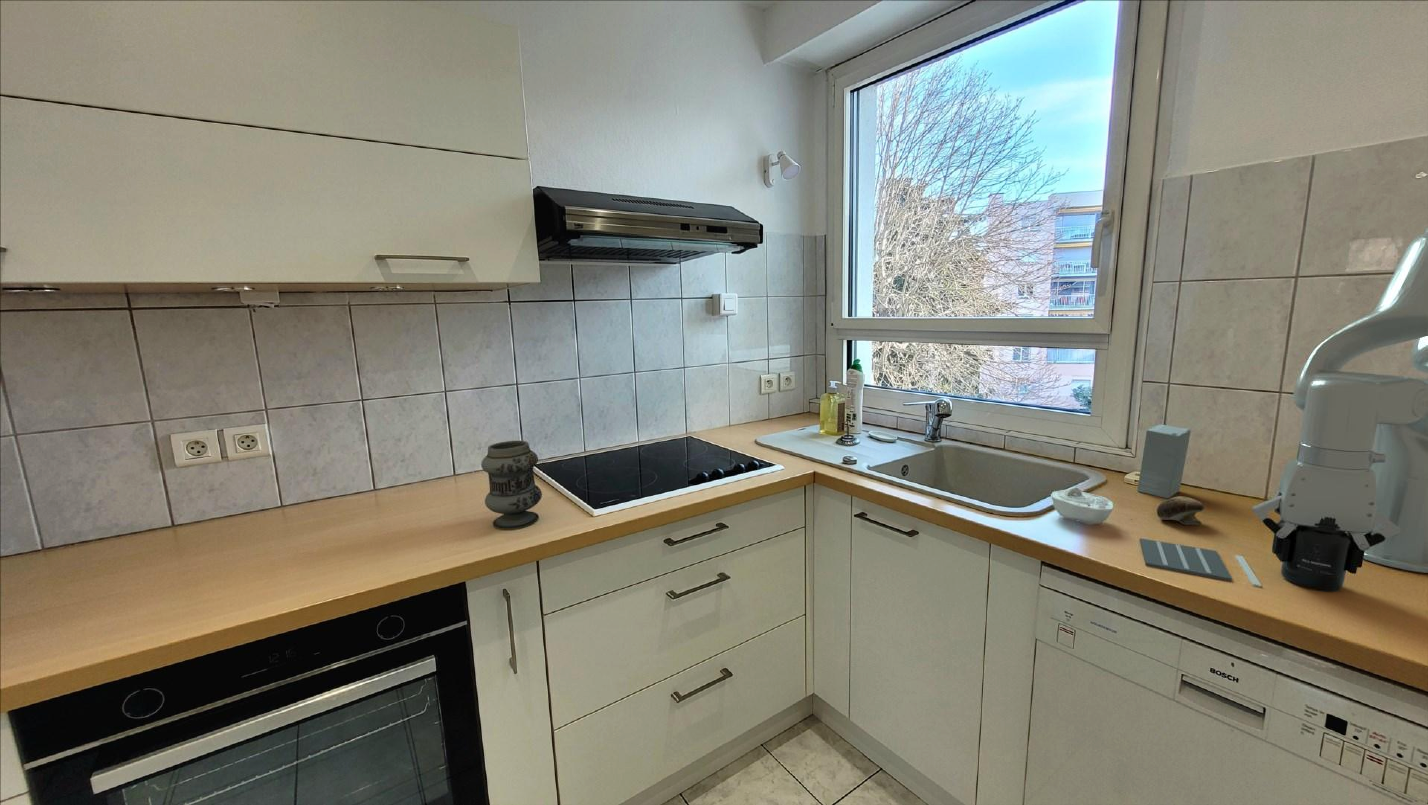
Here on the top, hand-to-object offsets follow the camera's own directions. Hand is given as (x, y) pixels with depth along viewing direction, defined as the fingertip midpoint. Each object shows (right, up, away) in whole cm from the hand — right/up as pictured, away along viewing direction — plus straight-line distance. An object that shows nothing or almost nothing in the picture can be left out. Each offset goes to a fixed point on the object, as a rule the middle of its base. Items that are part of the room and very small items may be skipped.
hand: (1314, 563), depth 87 cm
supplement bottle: (0, -3, +1) cm, 3 cm away
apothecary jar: (-142, -1, +35) cm, 146 cm away
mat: (-13, -2, +9) cm, 16 cm away
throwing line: (-6, -3, +5) cm, 8 cm away
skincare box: (+11, +4, +43) cm, 45 cm away
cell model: (-19, +1, +28) cm, 33 cm away
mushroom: (0, +1, +26) cm, 25 cm away
